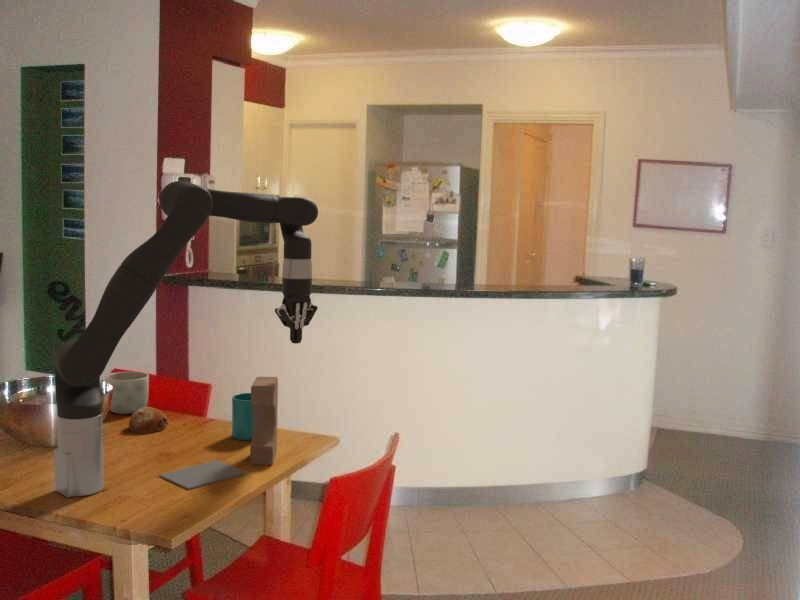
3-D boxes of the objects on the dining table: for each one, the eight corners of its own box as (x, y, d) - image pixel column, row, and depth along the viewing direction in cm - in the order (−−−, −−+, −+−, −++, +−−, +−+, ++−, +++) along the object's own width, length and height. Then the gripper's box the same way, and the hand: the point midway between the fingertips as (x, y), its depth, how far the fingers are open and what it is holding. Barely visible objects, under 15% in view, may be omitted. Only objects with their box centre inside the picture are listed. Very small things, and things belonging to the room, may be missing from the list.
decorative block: (272, 466, 199) (273, 386, 196) (249, 465, 199) (249, 386, 196) (277, 452, 210) (278, 376, 207) (255, 451, 210) (256, 376, 207)
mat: (188, 489, 181) (188, 488, 181) (159, 476, 189) (159, 474, 189) (246, 473, 193) (246, 471, 193) (216, 461, 201) (216, 460, 201)
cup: (274, 441, 219) (275, 401, 218) (229, 441, 218) (229, 400, 217) (277, 432, 228) (277, 393, 227) (234, 431, 227) (234, 392, 226)
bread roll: (140, 435, 233) (128, 411, 231) (173, 420, 233) (161, 396, 232) (133, 446, 223) (119, 420, 222) (167, 430, 223) (154, 405, 222)
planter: (156, 407, 250) (156, 373, 248) (136, 418, 237) (136, 381, 236) (119, 404, 252) (119, 370, 250) (97, 414, 240) (97, 378, 238)
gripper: (286, 278, 199) (285, 348, 201) (326, 276, 209) (324, 342, 211) (267, 276, 204) (266, 343, 206) (306, 273, 213) (305, 338, 216)
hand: (296, 342), depth 208 cm, fingers closed
